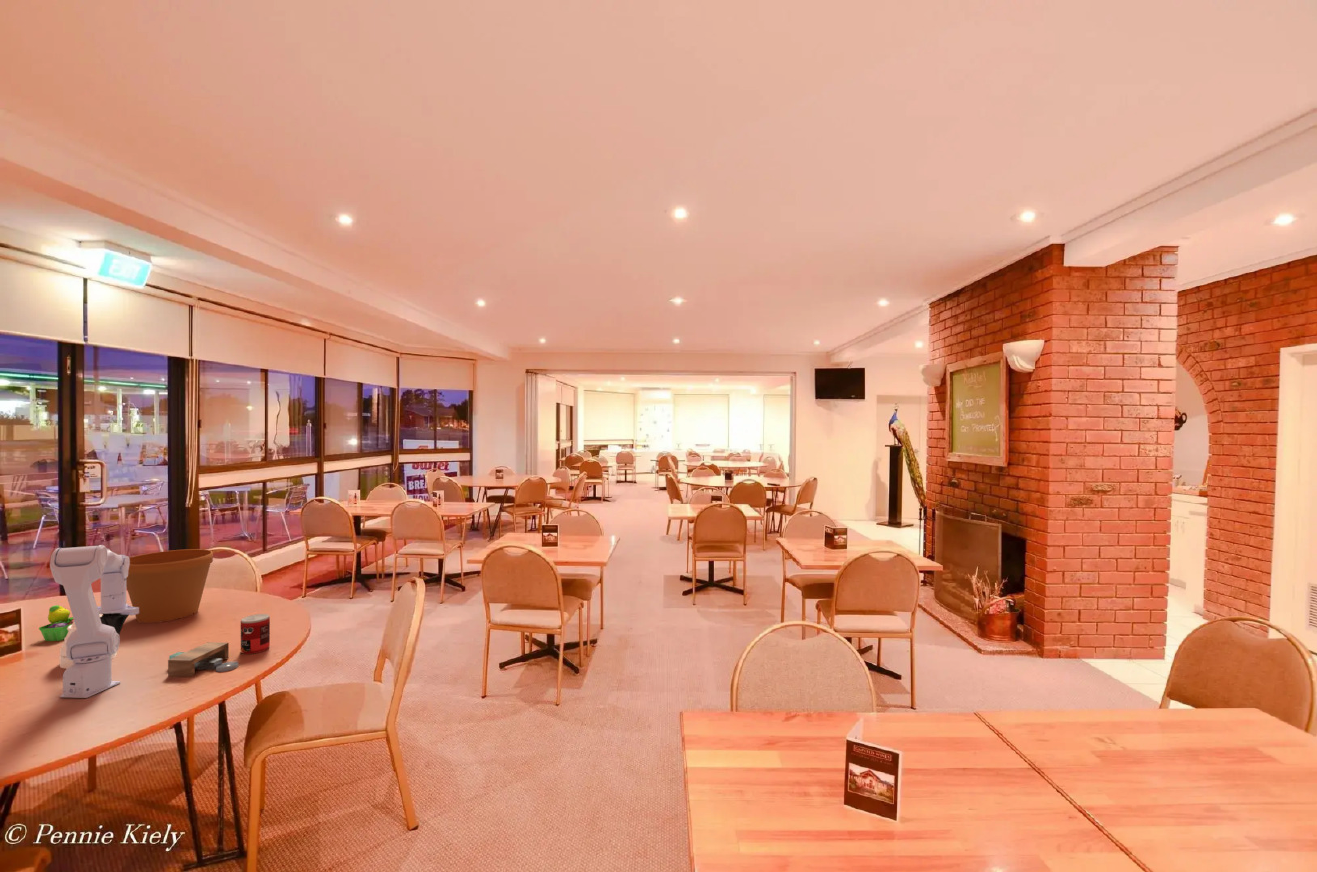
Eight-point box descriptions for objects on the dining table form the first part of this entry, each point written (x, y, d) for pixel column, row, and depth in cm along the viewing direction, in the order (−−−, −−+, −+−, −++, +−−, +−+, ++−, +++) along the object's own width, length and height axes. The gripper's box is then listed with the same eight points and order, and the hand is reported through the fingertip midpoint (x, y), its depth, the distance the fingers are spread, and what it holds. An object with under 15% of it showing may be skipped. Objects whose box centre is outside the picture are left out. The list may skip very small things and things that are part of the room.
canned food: (238, 649, 188) (238, 617, 187) (267, 643, 193) (267, 612, 193) (242, 656, 182) (242, 623, 182) (271, 649, 188) (271, 617, 188)
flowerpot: (115, 632, 203) (114, 568, 202) (124, 613, 224) (123, 555, 224) (213, 616, 220) (212, 558, 220) (212, 599, 242) (212, 546, 242)
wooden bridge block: (190, 676, 167) (190, 660, 167) (168, 676, 167) (168, 659, 167) (228, 657, 181) (228, 642, 181) (207, 657, 181) (207, 642, 181)
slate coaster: (227, 673, 170) (227, 669, 170) (211, 672, 171) (211, 668, 171) (243, 665, 176) (243, 661, 176) (226, 664, 176) (226, 661, 176)
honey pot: (122, 657, 181) (122, 602, 181) (66, 672, 170) (66, 613, 170) (109, 649, 188) (108, 596, 187) (54, 662, 177) (53, 606, 176)
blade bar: (214, 670, 172) (214, 657, 172) (169, 669, 173) (169, 655, 173) (222, 666, 175) (222, 653, 175) (178, 664, 176) (178, 651, 176)
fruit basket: (59, 642, 194) (58, 610, 193) (33, 642, 193) (33, 610, 193) (92, 630, 205) (92, 600, 205) (68, 630, 205) (68, 600, 205)
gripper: (148, 590, 176) (148, 633, 176) (104, 589, 176) (105, 632, 176) (126, 597, 169) (126, 641, 169) (80, 596, 169) (81, 640, 169)
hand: (113, 637), depth 172 cm, fingers closed
